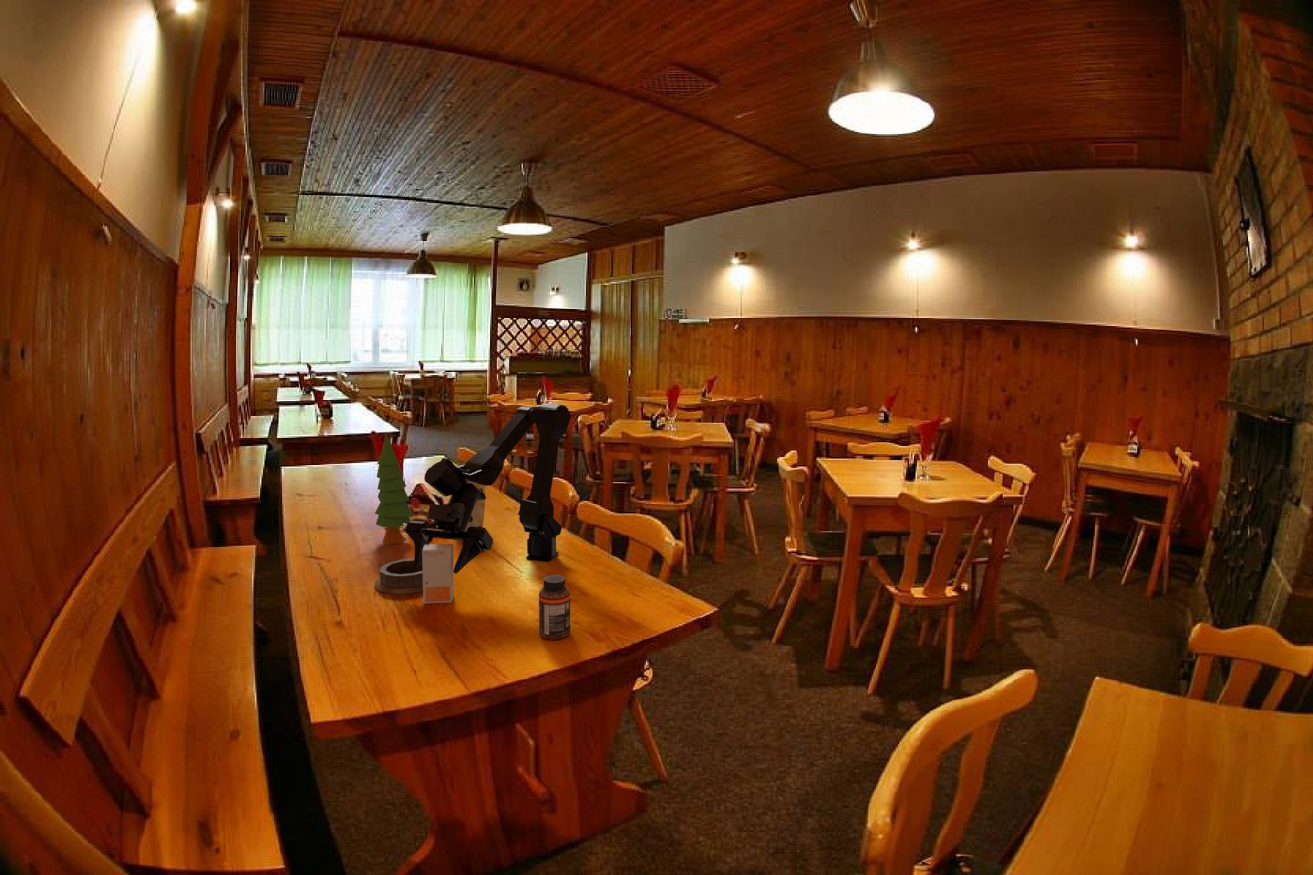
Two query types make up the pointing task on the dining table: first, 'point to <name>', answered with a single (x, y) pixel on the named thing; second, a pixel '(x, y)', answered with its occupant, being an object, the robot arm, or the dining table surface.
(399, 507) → the decorative tree
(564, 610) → the supplement bottle
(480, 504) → the food model
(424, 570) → the skincare box
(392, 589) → the stone fire pit
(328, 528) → the dining table surface
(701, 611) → the dining table surface
